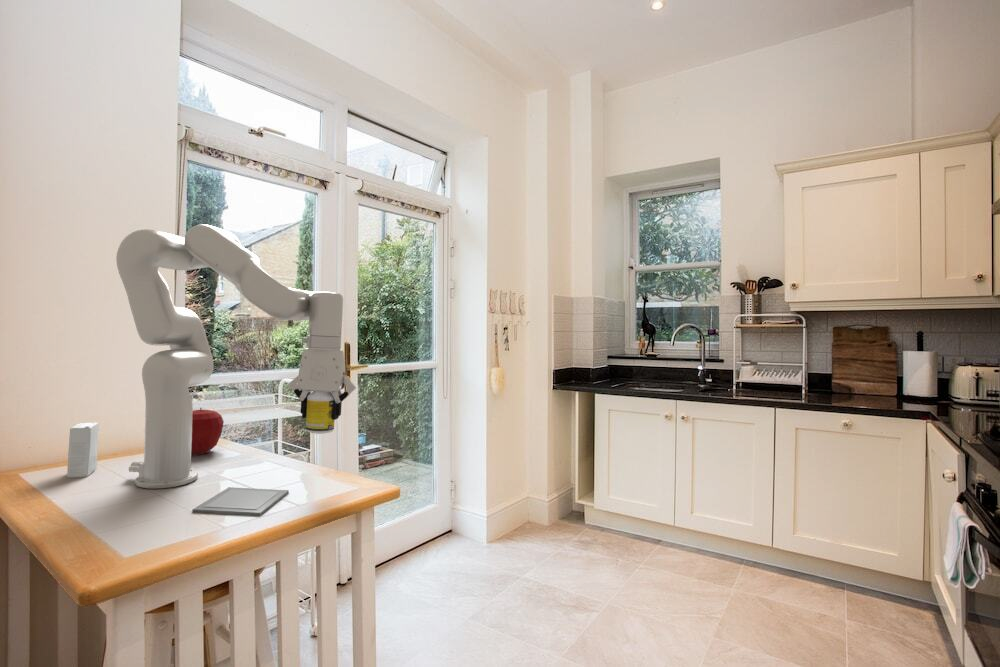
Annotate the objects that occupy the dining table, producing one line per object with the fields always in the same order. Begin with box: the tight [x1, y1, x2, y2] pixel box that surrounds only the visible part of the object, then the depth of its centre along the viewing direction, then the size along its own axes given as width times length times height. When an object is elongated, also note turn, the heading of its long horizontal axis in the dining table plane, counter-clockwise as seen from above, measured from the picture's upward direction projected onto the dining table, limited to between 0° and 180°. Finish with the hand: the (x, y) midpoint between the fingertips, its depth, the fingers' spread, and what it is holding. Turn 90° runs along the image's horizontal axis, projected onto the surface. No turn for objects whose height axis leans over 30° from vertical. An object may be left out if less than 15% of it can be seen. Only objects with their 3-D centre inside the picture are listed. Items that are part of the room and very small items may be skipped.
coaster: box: [191, 486, 290, 517], centre depth 112 cm, size 14×14×1 cm
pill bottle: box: [305, 391, 336, 435], centre depth 122 cm, size 6×6×12 cm
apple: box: [191, 407, 225, 456], centre depth 148 cm, size 12×12×13 cm
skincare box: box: [66, 422, 100, 479], centre depth 125 cm, size 6×4×12 cm
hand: (320, 417), depth 122 cm, fingers closed on pill bottle, 6 cm apart
